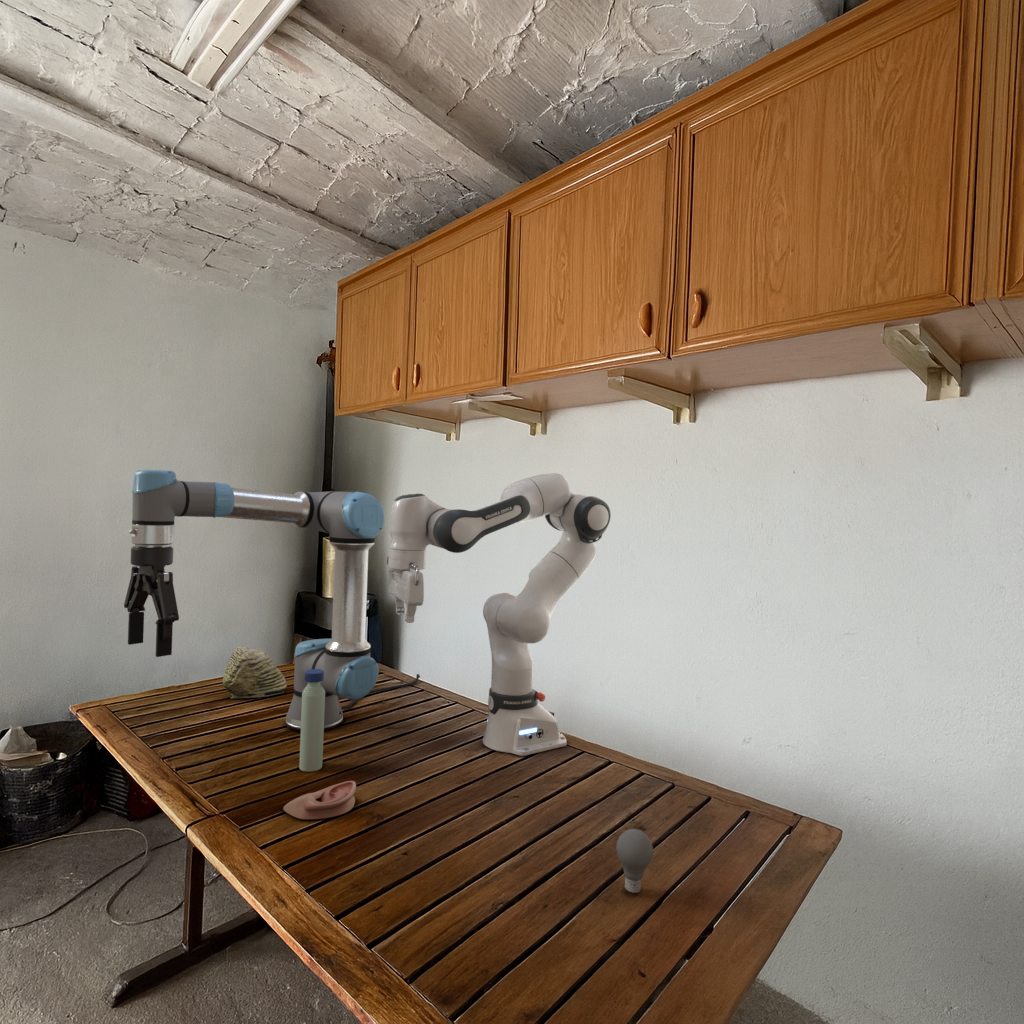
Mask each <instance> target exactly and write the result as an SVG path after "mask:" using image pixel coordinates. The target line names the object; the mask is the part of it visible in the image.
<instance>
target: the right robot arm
mask: <svg viewBox="0 0 1024 1024" xmlns="http://www.w3.org/2000/svg"><path fill="white" fill-rule="evenodd" d="M543 517H544V518H545V521H546V522H547V523H548V525H549V526H550V527H551V528H552V529H555V530H556V531H560V532H562V534H561V537H560V539H559V541H558V542H557V543H556V544H555V546H553V547H552V548H551V549H550V550H549V551H548V552H547V553H546V554H545V555H544V556H543V557H542V559H540V561H538V562H537V564H535V566H534V567H533V568H532V569H531V570H530V571H529V572H528V579H527V581H526V584H525V585H524V587H523V589H522V591H520V592H519V594H517V595H516V594H513V593H510V592H499V593H495V594H492V595H490V596H489V597H488V598H487V599H486V600H485V602H484V605H483V608H482V616H483V618H484V621H485V623H486V628H487V635H488V641H489V648H490V654H491V672H490V673H491V674H490V675H491V676H490V687H489V689H488V699H487V705H488V717H487V719H486V720H487V723H486V727H485V730H484V733H483V737H482V744H483V745H484V746H485V747H486V748H488V749H491V750H493V751H496V752H502V753H509V754H514V755H516V756H521V757H524V756H528V755H534V754H537V753H542V752H546V751H550V750H555V749H560V748H563V747H566V746H567V745H568V743H567V741H568V740H567V738H566V736H565V735H564V734H563V733H562V732H560V731H559V724H558V721H557V719H556V717H555V712H554V711H549V710H547V709H546V708H545V707H544V706H542V705H541V704H540V703H539V702H541V703H542V702H544V701H545V700H546V695H545V694H544V693H543V692H539V691H537V690H536V689H534V688H533V686H534V685H533V683H534V665H535V664H534V659H533V656H532V653H531V652H530V651H531V650H530V648H529V644H536V643H539V642H541V641H543V639H545V638H546V636H547V635H548V633H549V631H550V627H551V617H552V615H553V613H554V611H555V609H556V607H557V605H558V604H559V603H560V601H561V599H563V597H564V596H566V594H567V593H568V592H569V591H570V590H571V588H572V587H574V585H575V584H576V583H577V582H578V581H579V580H580V579H581V578H582V576H583V575H584V574H585V572H586V571H587V570H588V569H589V567H590V566H591V565H592V562H593V561H594V559H595V558H596V556H597V551H598V550H597V545H596V542H598V541H600V540H601V539H602V537H603V535H604V533H605V532H606V531H607V529H608V528H609V525H610V523H611V517H612V512H611V508H610V506H609V505H608V503H607V502H606V501H604V500H603V499H601V498H600V497H597V496H594V495H593V496H592V495H587V494H583V493H572V490H571V486H570V484H569V481H568V480H567V478H566V477H565V476H563V475H562V474H560V473H556V472H552V473H543V474H537V475H533V476H529V477H525V478H522V479H520V480H517V481H515V482H513V483H511V484H509V485H507V486H506V487H504V488H503V490H502V491H501V494H500V501H499V500H498V501H497V502H495V503H492V504H490V505H486V506H484V507H481V508H478V509H475V510H467V509H460V508H459V509H451V508H446V507H444V506H441V505H439V504H437V503H436V502H434V501H433V500H431V499H430V498H428V497H427V496H426V494H424V493H410V494H409V493H408V494H402V495H399V496H398V497H396V498H395V499H394V500H393V503H392V507H391V511H390V521H389V533H390V542H389V546H388V555H387V556H386V565H387V567H388V589H389V594H391V595H393V597H394V603H395V614H396V615H397V616H404V621H405V622H406V623H407V624H413V623H414V622H415V615H416V611H417V607H421V606H423V604H424V601H425V600H424V599H425V581H424V579H425V578H424V574H423V573H422V571H423V570H425V569H426V565H427V564H426V563H427V562H426V561H427V546H429V545H430V546H434V547H436V548H440V549H444V550H446V551H447V552H450V553H453V554H461V553H465V552H466V551H468V550H470V549H471V548H473V547H474V546H475V545H476V544H477V543H478V542H479V541H480V540H481V539H483V538H484V537H485V536H487V535H490V534H492V533H494V532H497V531H499V530H502V529H504V528H507V527H510V526H512V525H515V524H516V525H517V524H522V523H528V522H531V521H534V520H535V521H536V520H537V519H540V518H543ZM405 608H406V613H405ZM560 733H561V734H560Z"/></svg>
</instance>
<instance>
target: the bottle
mask: <svg viewBox="0 0 1024 1024" xmlns="http://www.w3.org/2000/svg"><path fill="white" fill-rule="evenodd" d="M324 710H325V690H324V688H323V687H322V686H321V684H320V682H315V683H311V682H308V685H307V686H306V687H305V689H304V690H303V692H302V711H301V731H300V739H299V765H298V768H299V770H300V771H302V772H307V773H308V772H309V773H311V772H316V771H319V770H321V769H322V768H323V761H324V760H323V758H324V737H325V736H324V733H325V731H324Z"/></svg>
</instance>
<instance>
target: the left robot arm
mask: <svg viewBox="0 0 1024 1024" xmlns="http://www.w3.org/2000/svg"><path fill="white" fill-rule="evenodd" d="M131 494H132V511H131V512H132V515H131V518H132V519H131V520H132V521H131V529H129V532H128V533H129V534H130V535H131V544H132V545H133V546H132V547H131V548H130V564H131V565H132V566H131V571H130V579H129V583H128V586H127V590H126V595H125V599H124V603H123V607H124V609H126V610H127V613H128V621H127V622H128V626H127V627H128V628H127V645H128V646H129V645H130V646H131V645H137V644H144V629H145V611H146V608H145V605H146V602H147V600H148V598H149V596H150V597H151V599H152V602H153V606H154V609H155V612H156V616H157V620H156V621H155V625H156V630H155V631H156V633H155V658H159V657H160V658H161V657H166V656H172V655H173V654H172V653H173V627H174V625H173V623H175V622H176V621H180V620H179V619H180V615H179V609H178V603H177V598H176V593H175V587H174V573H173V572H172V571H165V570H166V569H165V568H166V566H171V565H173V563H174V547H173V546H171V545H173V544H174V543H175V518H176V517H179V518H180V517H192V518H193V517H195V518H223V519H224V518H225V519H237V520H248V521H249V520H250V521H261V522H274V523H288V524H291V525H292V526H293V527H294V528H304V529H309V530H312V531H313V530H314V531H318V532H321V533H325V534H329V544H330V545H331V546H332V547H333V549H334V569H333V571H334V572H333V595H332V596H333V597H332V621H331V622H332V625H331V638H318V639H308V640H304V641H300V642H299V643H297V645H296V646H295V650H294V655H293V657H294V672H293V673H294V674H293V695H292V696H293V697H292V699H291V702H290V704H289V708H288V711H287V713H286V715H285V726H286V728H287V729H289V730H291V731H294V732H295V731H296V732H301V711H302V692H303V690H304V689H305V687H306V686H307V685H308V682H306V681H305V672H306V671H307V670H310V669H321V670H323V671H324V679H323V681H321V682H320V684H321V686H322V687H323V688H324V690H325V710H324V732H325V731H329V730H332V729H335V728H337V727H339V726H340V725H342V723H343V722H344V714H343V710H345V709H349V708H350V707H351V706H353V705H354V704H355V702H356V701H358V700H360V699H362V698H364V697H365V696H367V695H370V694H373V693H377V692H382V691H387V690H388V691H389V690H395V689H399V688H404V687H409V686H412V685H415V684H417V682H419V678H421V675H420V674H419V673H417V674H416V678H415V680H413V681H411V682H407V683H402V684H397V685H392V686H385V687H380V688H375V689H374V687H375V685H376V683H377V681H378V678H379V674H380V673H379V671H380V670H379V669H380V668H379V665H378V663H377V662H376V660H375V659H374V658H373V657H371V652H372V651H371V648H372V646H371V643H370V642H368V640H367V639H366V630H367V629H366V628H367V625H366V624H367V602H368V601H367V600H368V575H369V574H368V573H369V572H368V571H369V551H370V549H371V548H372V547H373V546H374V545H375V544H376V543H375V541H376V539H375V538H376V536H378V535H379V534H380V532H381V530H383V528H384V525H385V511H384V508H383V506H382V503H381V502H380V501H379V500H378V498H377V497H375V496H374V495H372V494H370V493H367V492H361V491H337V490H336V491H335V490H333V491H332V490H330V491H312V492H311V491H309V492H308V491H296V492H295V493H294V494H292V493H283V492H277V491H276V492H275V491H266V490H257V489H250V488H240V487H232V486H230V484H228V483H225V482H224V483H223V482H217V481H214V482H211V481H187V480H186V481H184V480H178V479H177V474H176V472H175V471H173V470H162V469H146V468H145V469H144V468H143V469H138V470H136V471H135V472H134V475H133V483H132V490H131ZM339 698H341V699H342V700H343V699H344V700H348V701H349V700H350V702H349V703H348V704H346V705H341V702H340V699H339Z"/></svg>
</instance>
